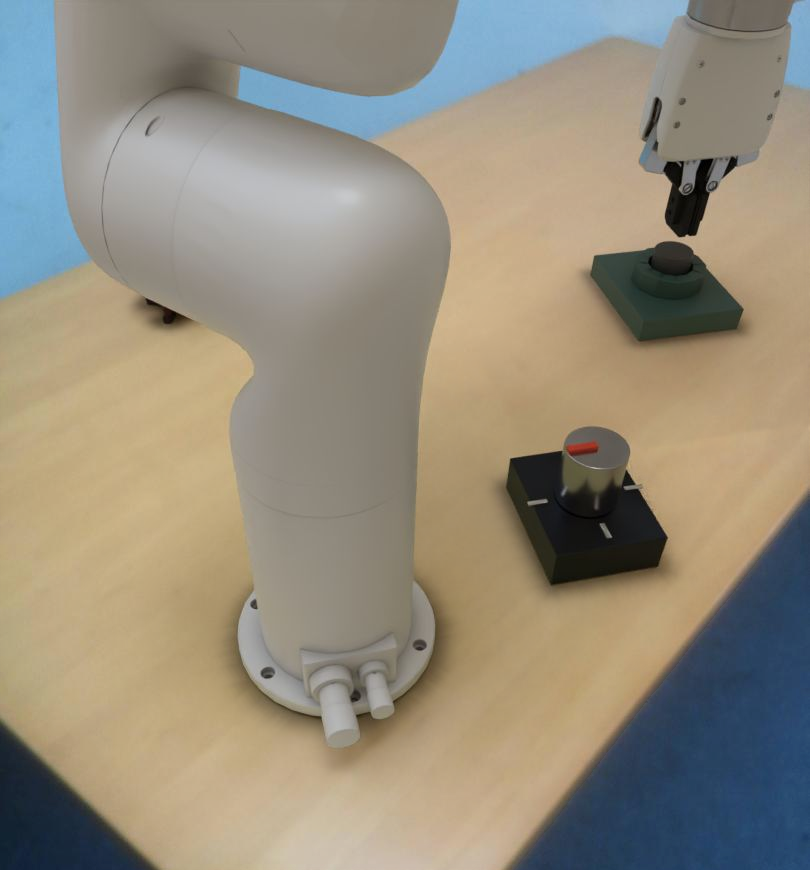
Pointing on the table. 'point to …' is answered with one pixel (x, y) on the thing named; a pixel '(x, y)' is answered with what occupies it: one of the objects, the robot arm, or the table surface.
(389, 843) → the table surface
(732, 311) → the housing
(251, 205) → the robot arm
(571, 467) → the knob
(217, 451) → the table surface
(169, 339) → the table surface
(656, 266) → the button
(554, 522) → the panel
